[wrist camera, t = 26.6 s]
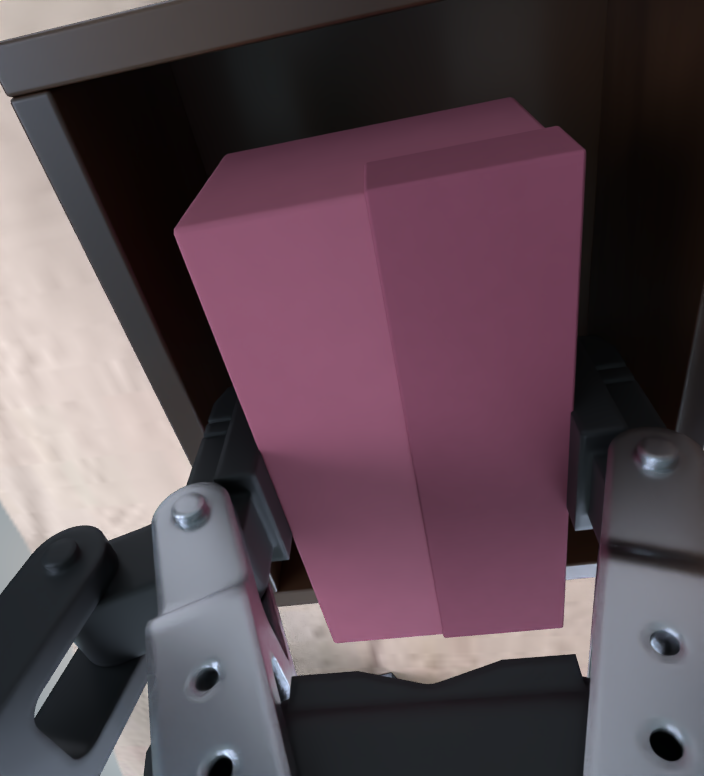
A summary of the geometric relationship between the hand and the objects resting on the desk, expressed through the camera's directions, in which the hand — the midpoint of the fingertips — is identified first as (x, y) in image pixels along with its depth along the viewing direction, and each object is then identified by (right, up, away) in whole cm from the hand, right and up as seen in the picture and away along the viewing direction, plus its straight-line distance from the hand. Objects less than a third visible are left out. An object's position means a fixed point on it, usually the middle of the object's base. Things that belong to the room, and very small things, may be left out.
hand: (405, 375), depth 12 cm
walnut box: (+1, +4, +5) cm, 6 cm away
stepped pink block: (0, 0, 0) cm, 0 cm away
